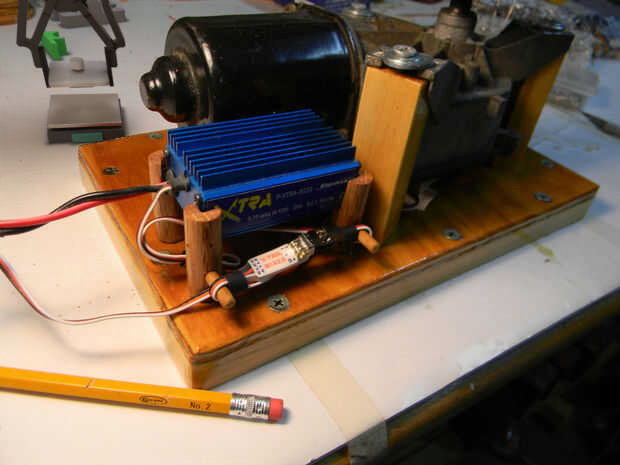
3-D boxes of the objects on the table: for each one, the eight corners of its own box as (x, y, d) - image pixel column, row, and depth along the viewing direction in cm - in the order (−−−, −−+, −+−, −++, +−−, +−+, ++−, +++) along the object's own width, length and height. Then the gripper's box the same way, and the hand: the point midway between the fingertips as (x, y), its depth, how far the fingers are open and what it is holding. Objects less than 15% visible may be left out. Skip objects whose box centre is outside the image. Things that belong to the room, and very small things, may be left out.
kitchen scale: (50, 147, 87) (46, 130, 84) (53, 112, 96) (49, 97, 94) (125, 143, 91) (123, 127, 89) (121, 110, 100) (119, 95, 98)
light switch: (111, 95, 86) (107, 68, 83) (51, 98, 83) (44, 70, 80) (107, 73, 93) (103, 48, 90) (52, 75, 90) (45, 48, 86)
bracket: (51, 19, 134) (42, -23, 127) (111, 12, 145) (106, -26, 138) (66, 30, 130) (58, -13, 123) (127, 22, 140) (123, -17, 133)
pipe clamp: (72, 61, 116) (68, 42, 113) (56, 63, 114) (52, 44, 111) (57, 44, 122) (53, 26, 119) (41, 46, 120) (37, 27, 117)
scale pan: (48, 128, 85) (47, 124, 85) (51, 97, 94) (50, 94, 93) (121, 125, 89) (121, 122, 89) (118, 96, 98) (117, 93, 97)
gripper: (-34, -54, 67) (9, 94, 81) (133, -42, 75) (146, 91, 89) (-26, -65, 72) (13, 76, 87) (130, -53, 80) (142, 75, 94)
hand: (80, 84), depth 88 cm, fingers closed on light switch, 10 cm apart
